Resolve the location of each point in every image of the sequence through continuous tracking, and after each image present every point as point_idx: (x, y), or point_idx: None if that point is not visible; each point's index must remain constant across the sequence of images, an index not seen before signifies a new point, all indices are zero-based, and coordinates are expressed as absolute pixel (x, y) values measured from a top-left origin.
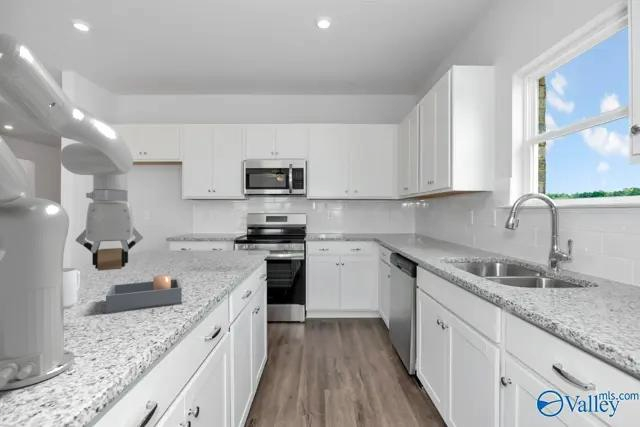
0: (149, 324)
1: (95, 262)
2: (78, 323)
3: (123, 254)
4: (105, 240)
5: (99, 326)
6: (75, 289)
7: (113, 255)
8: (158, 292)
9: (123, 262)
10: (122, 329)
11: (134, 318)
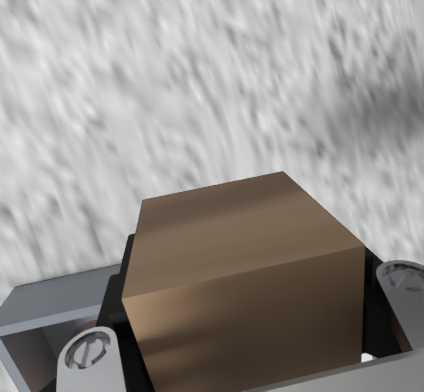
0: (51, 86)
1: None
2: (287, 167)
3: (120, 291)
4: (356, 369)
5: (217, 118)
6: (363, 361)
7: (198, 244)
8: (74, 304)
9: (130, 246)
10: (131, 60)
11: (130, 169)
